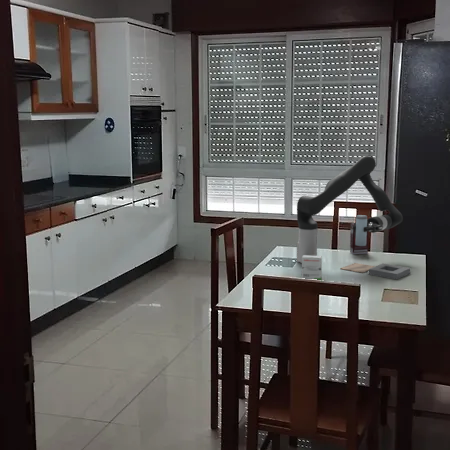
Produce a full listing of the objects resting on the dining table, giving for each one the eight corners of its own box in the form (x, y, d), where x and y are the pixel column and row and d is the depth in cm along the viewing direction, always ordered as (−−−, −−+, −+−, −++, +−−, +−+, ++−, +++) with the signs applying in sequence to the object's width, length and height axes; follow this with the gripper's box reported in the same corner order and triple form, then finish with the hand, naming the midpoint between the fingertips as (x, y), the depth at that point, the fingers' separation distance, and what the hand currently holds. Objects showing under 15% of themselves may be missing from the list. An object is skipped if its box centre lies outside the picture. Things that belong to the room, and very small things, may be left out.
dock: (368, 274, 290) (368, 269, 290) (382, 268, 301) (382, 263, 300) (396, 279, 281) (396, 274, 281) (410, 273, 292) (410, 268, 291)
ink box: (321, 281, 279) (322, 255, 277) (321, 284, 275) (321, 257, 272) (302, 280, 281) (302, 254, 279) (301, 283, 276) (301, 257, 274)
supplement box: (364, 251, 336) (365, 222, 333) (368, 253, 331) (369, 224, 328) (349, 252, 335) (350, 223, 332) (352, 254, 330) (353, 224, 327)
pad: (340, 269, 300) (340, 268, 300) (354, 263, 310) (354, 262, 310) (362, 273, 292) (362, 272, 292) (376, 267, 303) (376, 266, 303)
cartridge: (353, 245, 298) (354, 216, 295) (358, 243, 302) (359, 214, 299) (362, 246, 295) (363, 217, 292) (368, 244, 298) (369, 215, 296)
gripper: (363, 214, 312) (346, 219, 299) (390, 218, 302) (373, 222, 290) (363, 229, 313) (345, 234, 300) (389, 233, 304) (372, 238, 291)
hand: (359, 229), depth 295 cm, fingers closed on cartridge, 5 cm apart
